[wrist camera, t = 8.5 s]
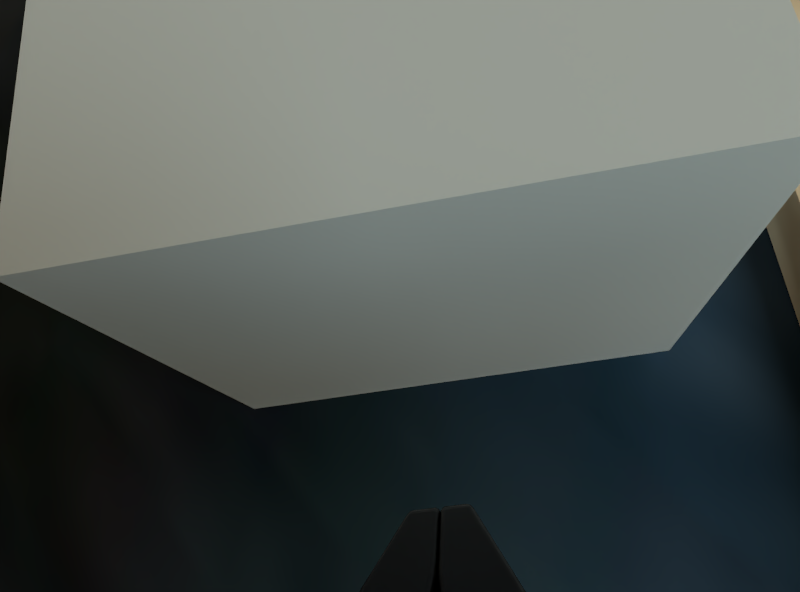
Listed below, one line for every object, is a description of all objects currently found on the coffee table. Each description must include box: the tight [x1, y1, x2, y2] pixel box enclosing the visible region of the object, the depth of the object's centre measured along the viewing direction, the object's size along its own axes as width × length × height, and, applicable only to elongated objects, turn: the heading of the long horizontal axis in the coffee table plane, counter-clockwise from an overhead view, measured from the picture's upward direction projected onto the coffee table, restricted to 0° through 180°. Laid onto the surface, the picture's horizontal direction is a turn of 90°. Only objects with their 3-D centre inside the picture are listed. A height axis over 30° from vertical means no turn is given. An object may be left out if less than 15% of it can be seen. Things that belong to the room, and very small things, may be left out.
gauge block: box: [0, 0, 800, 409], centre depth 13 cm, size 8×10×9 cm
